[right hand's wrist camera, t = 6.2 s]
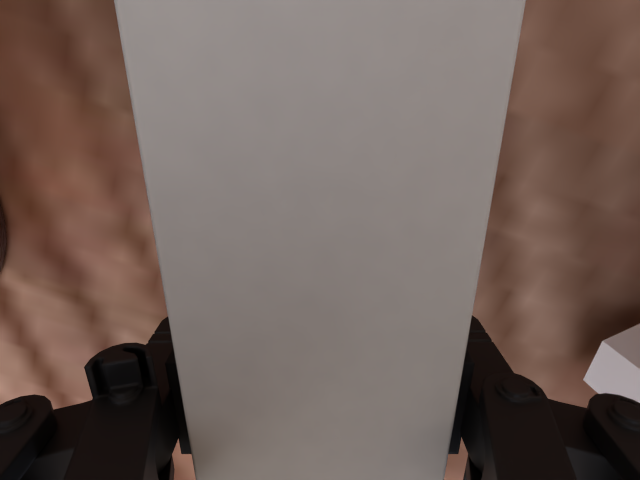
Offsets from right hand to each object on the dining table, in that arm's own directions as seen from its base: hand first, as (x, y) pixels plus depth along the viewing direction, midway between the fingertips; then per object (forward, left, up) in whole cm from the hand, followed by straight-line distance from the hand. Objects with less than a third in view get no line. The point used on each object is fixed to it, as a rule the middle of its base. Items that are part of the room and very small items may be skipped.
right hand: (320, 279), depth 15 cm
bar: (+8, +5, -1) cm, 9 cm away
